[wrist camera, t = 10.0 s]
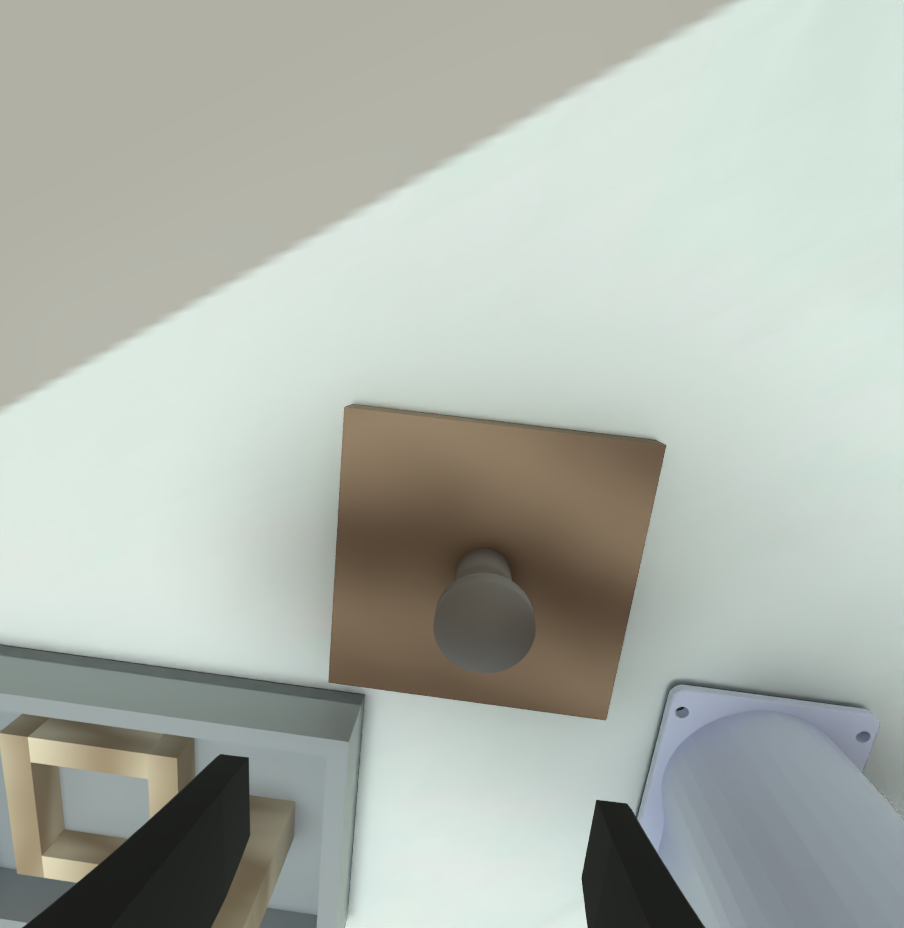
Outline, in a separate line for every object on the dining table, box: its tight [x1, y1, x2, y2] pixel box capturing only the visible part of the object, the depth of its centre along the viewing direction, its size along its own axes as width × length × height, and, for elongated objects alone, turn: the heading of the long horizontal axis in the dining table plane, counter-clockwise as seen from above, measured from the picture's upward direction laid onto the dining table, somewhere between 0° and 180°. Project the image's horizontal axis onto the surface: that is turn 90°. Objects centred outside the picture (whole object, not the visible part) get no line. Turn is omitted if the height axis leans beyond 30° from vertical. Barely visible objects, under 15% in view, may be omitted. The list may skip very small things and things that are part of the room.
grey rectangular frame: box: [0, 645, 365, 928], centre depth 21 cm, size 13×18×2 cm
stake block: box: [329, 404, 666, 720], centre depth 16 cm, size 11×11×5 cm
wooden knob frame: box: [0, 714, 295, 928], centre depth 19 cm, size 12×8×6 cm, turn 84°
